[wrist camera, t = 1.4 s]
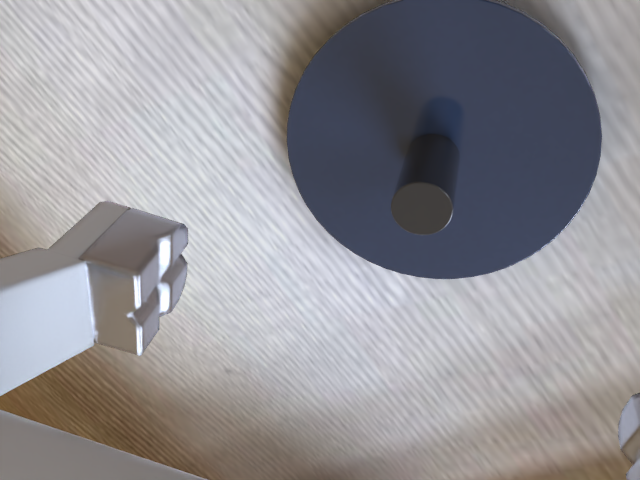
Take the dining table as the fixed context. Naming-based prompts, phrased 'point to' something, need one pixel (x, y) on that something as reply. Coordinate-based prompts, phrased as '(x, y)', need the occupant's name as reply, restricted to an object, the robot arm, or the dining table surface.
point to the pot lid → (444, 136)
